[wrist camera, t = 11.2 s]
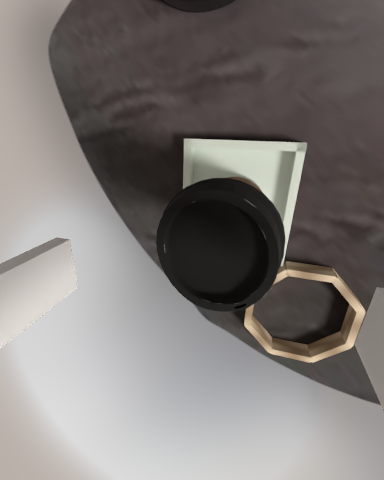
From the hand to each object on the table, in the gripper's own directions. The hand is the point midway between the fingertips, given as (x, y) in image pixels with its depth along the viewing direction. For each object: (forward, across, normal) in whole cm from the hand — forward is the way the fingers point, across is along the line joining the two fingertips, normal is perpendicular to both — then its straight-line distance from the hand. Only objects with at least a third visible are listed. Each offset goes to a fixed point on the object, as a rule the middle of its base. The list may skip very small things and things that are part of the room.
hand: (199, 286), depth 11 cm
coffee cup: (+19, 0, -1) cm, 19 cm away
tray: (+19, 0, -1) cm, 19 cm away
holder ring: (+19, +9, -14) cm, 25 cm away
